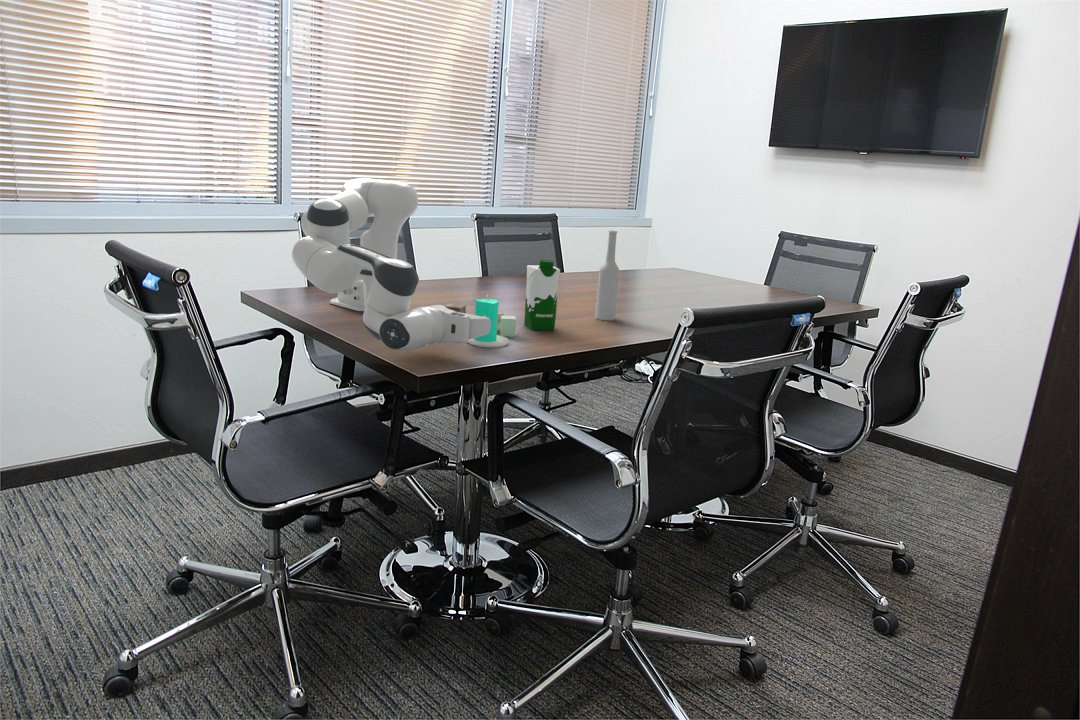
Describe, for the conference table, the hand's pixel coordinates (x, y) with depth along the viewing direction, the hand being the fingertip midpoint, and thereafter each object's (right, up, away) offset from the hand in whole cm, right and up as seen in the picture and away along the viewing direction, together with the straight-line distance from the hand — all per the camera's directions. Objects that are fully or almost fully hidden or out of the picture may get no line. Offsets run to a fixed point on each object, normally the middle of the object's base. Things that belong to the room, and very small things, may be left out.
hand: (468, 316), depth 192 cm
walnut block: (-7, 0, +33) cm, 34 cm away
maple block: (+4, -2, +26) cm, 27 cm away
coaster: (+4, -6, +11) cm, 13 cm away
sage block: (+9, -4, +22) cm, 24 cm away
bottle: (+39, +2, +54) cm, 66 cm away
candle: (+3, -6, +10) cm, 12 cm away
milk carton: (+18, -2, +34) cm, 38 cm away
